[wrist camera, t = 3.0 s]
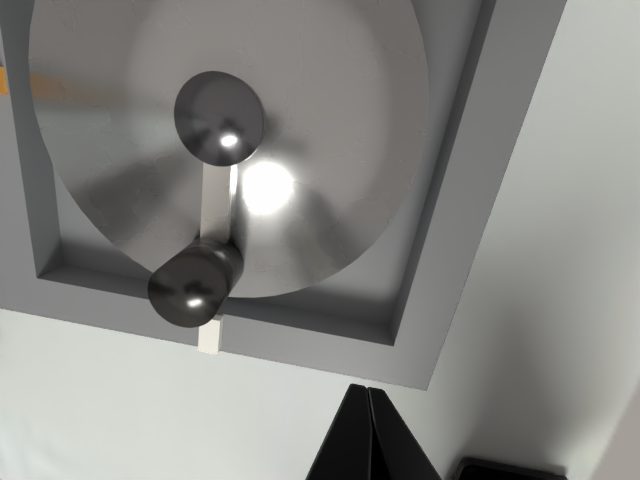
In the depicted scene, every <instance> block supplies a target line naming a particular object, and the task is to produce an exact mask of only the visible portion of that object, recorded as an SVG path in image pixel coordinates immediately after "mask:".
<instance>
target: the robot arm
mask: <svg viewBox="0 0 640 480" xmlns="http://www.w3.org/2000/svg"><path fill="white" fill-rule="evenodd" d="M305 480H442V479H441V478H440V476H439V474H438V473H437V471H436V470H435V468H434V467H433V465H432V464H431V462H430V461H429V459H428V457H427V456H426V454H425V453H424V451H423V450H422V448H421V447H420V445H419V444H418V442H417V440H416V439H415V437H414V436H413V434H412V433H411V431H410V430H409V428H408V427H407V425H406V423H405V422H404V420H403V419H402V417H401V416H400V414H399V413H398V411H397V410H396V408H395V406H394V405H393V403H392V402H391V400H390V399H389V397H388V396H387V394H386V393H385V391H384V390H382V389H378V388H372V387H368V388H366V387H365V386H362V385H357V384H350V385H349V387H348V390H347V392H346V394H345V396H344V398H343V400H342V402H341V405H340V407H339V409H338V411H337V413H336V415H335V417H334V419H333V422H332V424H331V426H330V428H329V430H328V432H327V434H326V436H325V439H324V441H323V443H322V445H321V447H320V449H319V451H318V453H317V456H316V458H315V460H314V462H313V464H312V466H311V468H310V471H309V473H308V475H307V477H306V479H305ZM453 480H568V479H567V478H566V477H564V476H559V475H554V474H549V473H544V472H539V471H534V470H529V469H523V468H518V467H513V466H508V465H503V464H498V463H493V462H488V461H483V460H478V459H473V458H467V459H464V460H462V462H461V463H460V466H459V468H458V470H457V472H456V474H455V477H454V479H453Z"/></svg>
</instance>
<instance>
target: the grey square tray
mask: <svg viewBox="0 0 640 480" xmlns="http://www.w3.org/2000/svg"><path fill="white" fill-rule="evenodd" d="M410 1H411V3H412V5H413V8H414V11H415V15H416V18H417V21H418V24H419V27H420V31H421V34H422V37H423V43H424V48H425V54H426V60H427V65H428V76H429V96H430V102H429V115H428V128H427V134H426V139H425V144H424V149H423V153H422V158H421V161H420V164H419V167H418V170H417V173H416V176H415V179H414V181H413V184H412V186H411V188H410V190H409V192H408V194H407V196H406V198H405V200H404V202H403V204H402V206H401V208H400V209H399V211H398V212H397V214H396V215H395V217H394V219H393V220H392V222H391V223H390V225H389V226H388V227H387V229H386V230H385V231H384V232H383V233H382V234H381V236H380V237H379V238H378V239H377V240H376V242H375V243H374V244H373V245H372V246H371V247H370V248H369V249H367V250H366V251H365V252H364V253H363V254H362V255H361V256H360V257H359V258H358V259H356V260H355V261H354V262H352V263H351V264H349V265H348V266H347V267H345V268H344V269H342V270H341V271H339V272H338V273H336V274H334V275H332V276H330V277H329V278H327V279H325V280H323V281H321V282H319V283H317V284H314V285H311V286H309V287H306V288H303V289H300V290H298V291H293V292H289V293H285V294H280V295H275V296H266V297H257V298H248V297H227V298H226V300H225V301H224V303H223V304H222V306H221V307H220V309H219V310H218V312H217V313H216V315H215V316H214V317H213V319H212V320H211V321H209V322H208V323H207V324H205V325H202V326H200V327H195V328H185V327H180V326H176V325H173V324H171V323H169V322H168V321H166V320H165V319H163V318H162V317H161V316H160V315H159V314H158V313H157V312H156V311H155V310H154V308H153V307H152V305H151V303H150V300H149V297H148V291H147V289H148V282H149V279H150V277H151V276H152V274H153V272H151V271H149V270H148V269H146V268H145V267H143V266H142V265H140V264H138V263H137V262H135V261H134V260H132V259H131V258H130V257H128V256H127V255H126V254H124V253H123V252H122V251H121V250H119V249H118V248H117V247H116V246H114V245H113V244H112V243H111V242H110V241H109V240H108V239H107V238H106V237H105V236H104V235H103V234H102V233H101V232H100V231H99V230H98V229H97V228H96V227H95V226H94V225H93V224H92V222H91V221H90V220H89V219H88V218H87V216H86V215H85V214H84V213H83V212H82V210H81V209H80V208H79V206H78V205H77V204H76V202H75V201H74V199H73V198H72V196H71V195H70V193H69V192H68V190H67V189H66V187H65V185H64V184H63V182H62V180H61V178H60V176H59V174H58V172H57V171H56V169H55V167H54V165H53V163H52V160H51V158H50V156H49V153H48V151H47V148H46V146H45V143H44V141H43V138H42V135H41V131H40V128H39V125H38V121H37V118H36V114H35V109H34V104H33V98H32V93H31V87H30V74H29V59H28V55H29V36H30V25H31V20H32V14H33V8H34V3H35V0H0V308H1V309H6V310H11V311H16V312H22V313H27V314H32V315H37V316H42V317H47V318H53V319H58V320H63V321H68V322H73V323H79V324H84V325H89V326H94V327H99V328H104V329H110V330H115V331H120V332H125V333H130V334H135V335H141V336H146V337H151V338H156V339H161V340H167V341H172V342H177V343H182V344H187V345H192V346H198V351H200V352H205V353H210V354H215V355H218V353H219V351H224V352H229V353H234V354H239V355H244V356H249V357H255V358H260V359H265V360H270V361H275V362H281V363H286V364H291V365H296V366H301V367H306V368H312V369H317V370H322V371H327V372H332V373H338V374H343V375H348V376H353V377H358V378H363V379H369V380H374V381H379V382H384V383H389V384H395V385H400V386H405V387H410V388H415V389H420V390H426V391H427V388H428V385H429V382H430V380H431V377H432V374H433V371H434V368H435V366H436V363H437V360H438V357H439V355H440V352H441V349H442V346H443V343H444V341H445V338H446V335H447V332H448V330H449V327H450V324H451V321H452V318H453V316H454V313H455V310H456V307H457V304H458V302H459V299H460V296H461V293H462V291H463V288H464V285H465V282H466V279H467V277H468V274H469V271H470V268H471V266H472V263H473V260H474V257H475V254H476V252H477V249H478V246H479V243H480V241H481V238H482V235H483V232H484V229H485V227H486V224H487V221H488V218H489V215H490V213H491V210H492V207H493V204H494V202H495V199H496V196H497V193H498V190H499V188H500V185H501V182H502V179H503V177H504V174H505V171H506V168H507V165H508V163H509V160H510V157H511V154H512V152H513V149H514V146H515V143H516V140H517V138H518V135H519V132H520V129H521V126H522V124H523V121H524V118H525V115H526V113H527V110H528V107H529V104H530V101H531V99H532V96H533V93H534V90H535V88H536V85H537V82H538V79H539V76H540V74H541V71H542V68H543V65H544V63H545V60H546V57H547V54H548V51H549V49H550V46H551V43H552V40H553V37H554V35H555V32H556V29H557V26H558V24H559V21H560V18H561V15H562V12H563V10H564V7H565V4H566V1H567V0H410Z"/></svg>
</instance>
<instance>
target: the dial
mask: <svg viewBox="0 0 640 480" xmlns="http://www.w3.org/2000/svg"><path fill="white" fill-rule="evenodd" d="M28 59H29V74H30V87H31V93H32V98H33V104H34V109H35V114H36V118H37V121H38V125H39V128H40V131H41V135H42V138H43V141H44V143H45V146H46V148H47V151H48V153H49V156H50V158H51V160H52V163H53V165H54V167H55V169H56V171H57V172H58V174H59V176H60V178H61V180H62V182H63V184H64V185H65V187H66V189H67V190H68V192H69V193H70V195H71V196H72V198H73V199H74V201H75V202H76V204H77V205H78V206H79V208H80V209H81V210H82V212H83V213H84V214H85V215H86V216H87V218H88V219H89V220H90V221H91V222H92V224H93V225H94V226H95V227H96V228H97V229H98V230H99V231H100V232H101V233H102V234H103V235H104V236H105V237H106V238H107V239H108V240H109V241H110V242H111V243H112V244H113V245H114V246H116V247H117V248H118V249H119V250H121V251H122V252H123V253H124V254H126V255H127V256H128V257H130V258H131V259H132V260H134V261H135V262H137V263H138V264H140V265H142V266H143V267H145V268H146V269H148V270H149V271H151V272H153V274H152V276H151V277H150V279H149V282H148V289H147V291H148V297H149V300H150V303H151V305H152V307H153V308H154V310H155V311H156V312H157V313H158V314H159V315H160V316H161V317H162V318H163V319H165V320H166V321H168V322H169V323H171V324H173V325H176V326H180V327H185V328H195V327H200V326H202V325H205V324H207V323H208V322H209V321H211V320H212V319H213V317H214V316H215V315H216V313H217V312H218V310H219V309H220V307H221V306H222V304H223V303H224V301H225V300H226V298H227V297H248V298H257V297H266V296H275V295H280V294H285V293H289V292H293V291H298V290H300V289H303V288H306V287H309V286H311V285H314V284H317V283H319V282H321V281H323V280H325V279H327V278H329V277H330V276H332V275H334V274H336V273H338V272H339V271H341V270H342V269H344V268H345V267H347V266H348V265H349V264H351V263H352V262H354V261H355V260H356V259H358V258H359V257H360V256H361V255H362V254H363V253H364V252H365V251H366V250H367V249H369V248H370V247H371V246H372V245H373V244H374V243H375V242H376V240H377V239H378V238H379V237H380V236H381V234H382V233H383V232H384V231H385V230H386V229H387V227H388V226H389V225H390V223H391V222H392V220H393V219H394V217H395V215H396V214H397V212H398V211H399V209H400V208H401V206H402V204H403V202H404V200H405V198H406V196H407V194H408V192H409V190H410V188H411V186H412V184H413V181H414V179H415V176H416V173H417V170H418V167H419V164H420V161H421V158H422V153H423V149H424V144H425V139H426V134H427V128H428V115H429V102H430V96H429V76H428V65H427V60H426V54H425V48H424V43H423V37H422V34H421V31H420V27H419V24H418V21H417V18H416V15H415V11H414V8H413V5H412V3H411V1H410V0H35V3H34V8H33V14H32V20H31V25H30V36H29V55H28Z"/></svg>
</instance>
